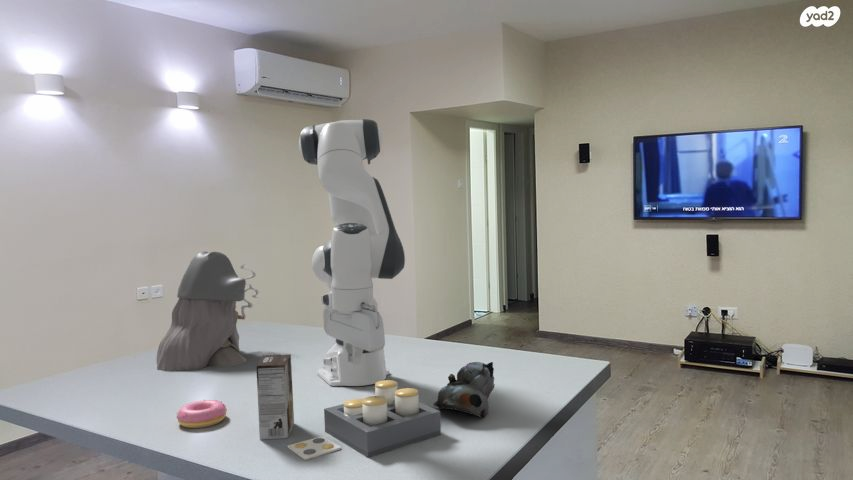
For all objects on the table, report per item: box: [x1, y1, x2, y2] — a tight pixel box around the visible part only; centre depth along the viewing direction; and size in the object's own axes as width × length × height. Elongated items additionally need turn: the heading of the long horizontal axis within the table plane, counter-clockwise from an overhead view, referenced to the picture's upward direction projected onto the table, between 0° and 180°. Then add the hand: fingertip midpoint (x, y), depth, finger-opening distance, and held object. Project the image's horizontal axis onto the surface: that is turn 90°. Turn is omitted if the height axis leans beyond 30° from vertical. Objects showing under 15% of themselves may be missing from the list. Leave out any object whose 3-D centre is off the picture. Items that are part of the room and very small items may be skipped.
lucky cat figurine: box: [432, 361, 496, 419], centre depth 144 cm, size 15×12×14 cm
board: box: [323, 402, 442, 458], centre depth 132 cm, size 18×18×5 cm
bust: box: [156, 251, 259, 372], centre depth 202 cm, size 34×34×35 cm
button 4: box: [395, 387, 420, 418], centre depth 131 cm, size 5×5×5 cm
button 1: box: [343, 398, 364, 416], centre depth 132 cm, size 5×5×5 cm
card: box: [287, 435, 342, 461], centre depth 125 cm, size 8×8×1 cm
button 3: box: [374, 379, 399, 407], centre depth 137 cm, size 5×5×5 cm
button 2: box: [362, 395, 388, 427], centre depth 126 cm, size 5×5×5 cm
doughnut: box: [176, 399, 228, 429], centre depth 142 cm, size 11×11×4 cm
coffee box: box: [255, 353, 295, 441], centre depth 134 cm, size 9×6×16 cm
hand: (353, 363), depth 132 cm, fingers closed
